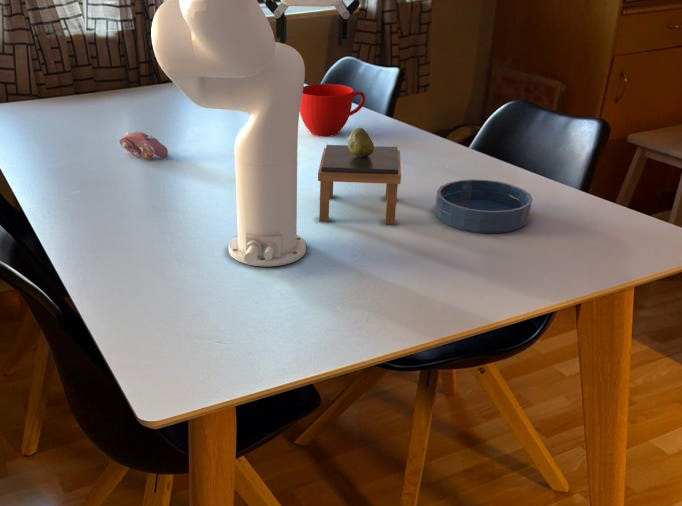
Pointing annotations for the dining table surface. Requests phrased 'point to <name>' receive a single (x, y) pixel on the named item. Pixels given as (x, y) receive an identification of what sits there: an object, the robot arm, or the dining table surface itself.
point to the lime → (360, 143)
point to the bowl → (483, 206)
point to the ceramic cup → (327, 107)
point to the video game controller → (143, 145)
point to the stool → (359, 174)
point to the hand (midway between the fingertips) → (311, 43)
